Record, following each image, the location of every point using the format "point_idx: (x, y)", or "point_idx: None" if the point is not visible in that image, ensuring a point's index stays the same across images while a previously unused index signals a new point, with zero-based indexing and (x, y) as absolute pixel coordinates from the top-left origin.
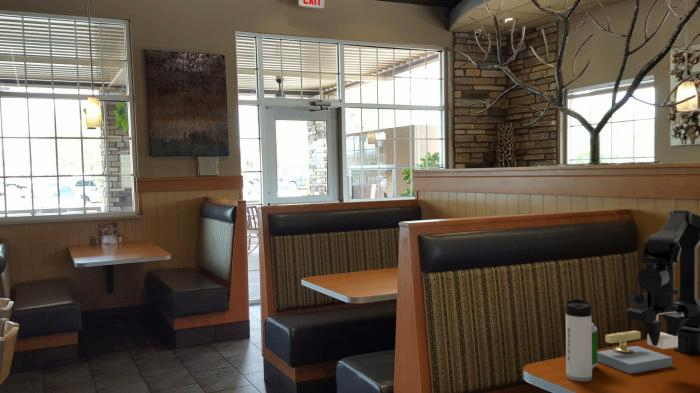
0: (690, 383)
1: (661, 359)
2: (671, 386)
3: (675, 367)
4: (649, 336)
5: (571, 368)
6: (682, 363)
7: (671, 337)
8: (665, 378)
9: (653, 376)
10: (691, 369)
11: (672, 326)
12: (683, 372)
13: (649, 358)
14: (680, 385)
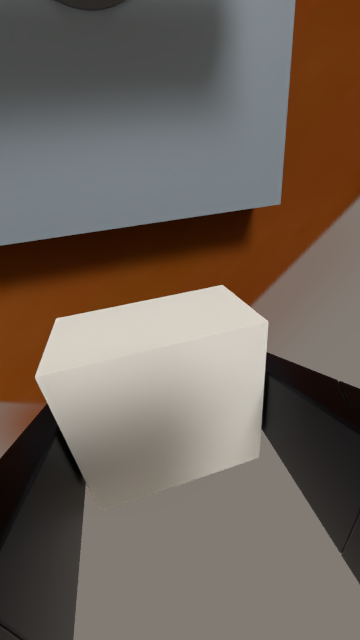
0: None
1: (208, 213)
2: None
3: (255, 219)
4: (12, 448)
5: None
6: (325, 179)
7: (202, 471)
8: None
9: (81, 299)
10: (286, 259)
11: (334, 488)
12: (232, 282)
13: (151, 182)
14: None
